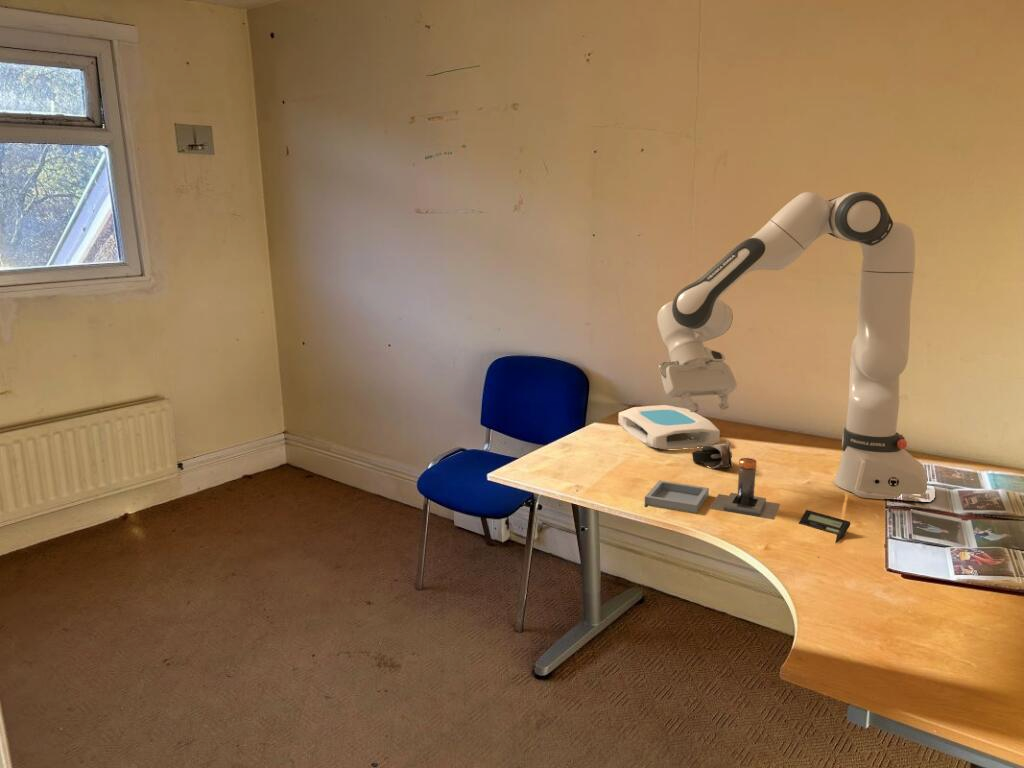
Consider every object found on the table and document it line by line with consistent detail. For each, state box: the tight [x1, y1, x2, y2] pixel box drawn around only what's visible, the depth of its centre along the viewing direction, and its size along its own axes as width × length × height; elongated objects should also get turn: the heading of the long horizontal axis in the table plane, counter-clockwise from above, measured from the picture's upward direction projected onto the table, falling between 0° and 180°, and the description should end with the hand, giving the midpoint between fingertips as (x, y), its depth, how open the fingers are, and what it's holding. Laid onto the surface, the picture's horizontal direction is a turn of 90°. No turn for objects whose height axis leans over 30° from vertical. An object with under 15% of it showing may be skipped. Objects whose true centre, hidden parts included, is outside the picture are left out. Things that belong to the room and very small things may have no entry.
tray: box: [644, 480, 710, 514], centre depth 174 cm, size 12×12×2 cm
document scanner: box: [617, 404, 721, 451], centre depth 226 cm, size 21×28×6 cm
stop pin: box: [736, 457, 757, 506], centre depth 169 cm, size 4×4×11 cm
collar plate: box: [709, 492, 781, 520], centre depth 170 cm, size 14×10×2 cm
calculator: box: [797, 509, 851, 545], centre depth 156 cm, size 9×12×3 cm
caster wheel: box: [691, 441, 733, 469], centre depth 199 cm, size 7×11×10 cm
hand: (710, 409), depth 179 cm, fingers open, 8 cm apart
